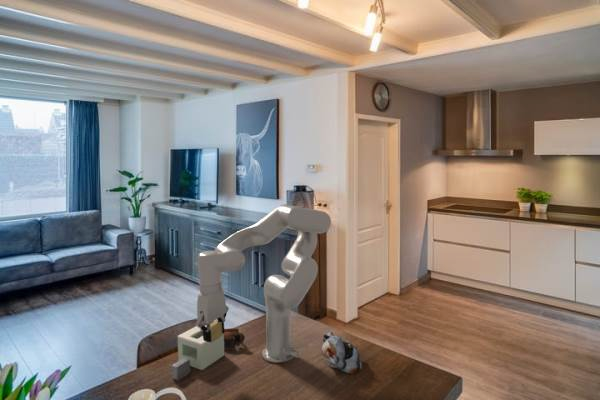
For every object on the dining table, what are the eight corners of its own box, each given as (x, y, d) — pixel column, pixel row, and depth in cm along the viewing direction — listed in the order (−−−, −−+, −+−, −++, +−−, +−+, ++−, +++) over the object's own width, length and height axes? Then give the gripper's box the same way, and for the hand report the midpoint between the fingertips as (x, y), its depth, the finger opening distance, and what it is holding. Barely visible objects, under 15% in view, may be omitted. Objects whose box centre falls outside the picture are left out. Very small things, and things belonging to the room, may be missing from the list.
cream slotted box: (224, 355, 148) (223, 330, 147) (202, 370, 138) (201, 343, 137) (201, 347, 154) (200, 323, 153) (178, 361, 144) (177, 336, 143)
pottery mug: (213, 351, 152) (214, 329, 156) (226, 351, 160) (227, 330, 164) (239, 348, 148) (239, 326, 152) (251, 349, 156) (251, 328, 160)
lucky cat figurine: (364, 376, 135) (350, 348, 130) (332, 386, 137) (317, 359, 132) (358, 344, 148) (345, 318, 143) (330, 353, 150) (316, 328, 145)
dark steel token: (190, 372, 137) (189, 359, 136) (177, 380, 132) (176, 367, 131) (185, 370, 138) (184, 357, 137) (172, 378, 133) (171, 365, 132)
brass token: (222, 335, 135) (221, 321, 134) (210, 343, 130) (210, 329, 129) (217, 333, 136) (216, 320, 136) (205, 341, 131) (204, 327, 130)
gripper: (219, 277, 140) (222, 324, 142) (184, 294, 125) (187, 345, 127) (235, 280, 136) (238, 328, 139) (201, 298, 121) (204, 351, 124)
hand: (214, 336), depth 133 cm, fingers closed on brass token, 5 cm apart
